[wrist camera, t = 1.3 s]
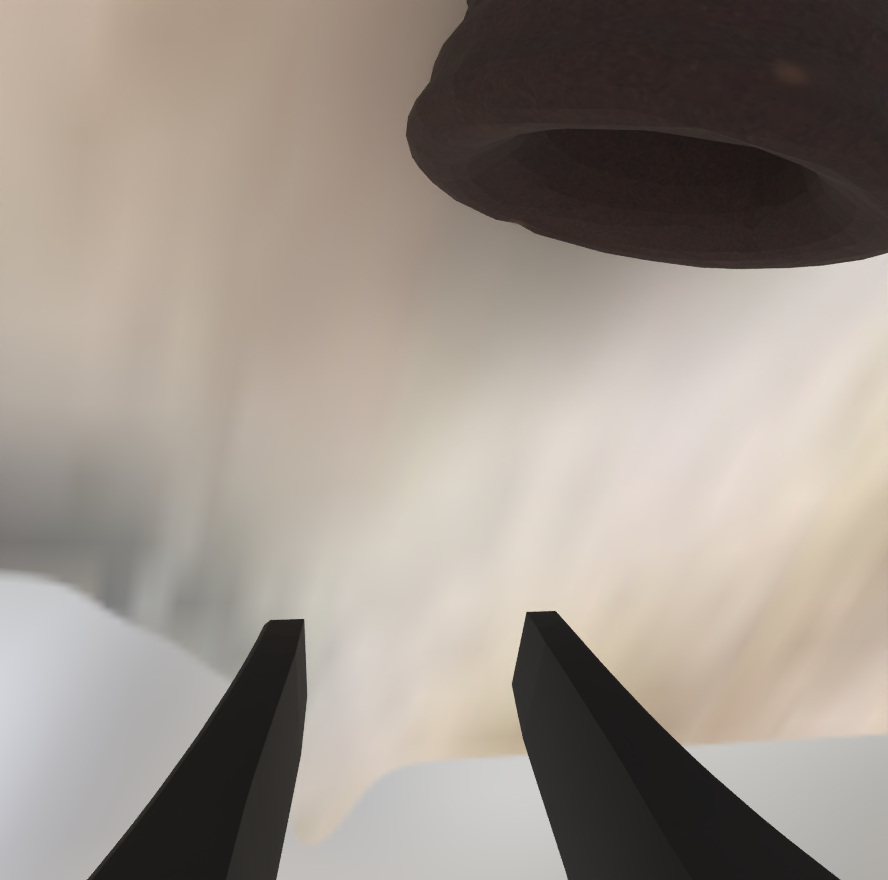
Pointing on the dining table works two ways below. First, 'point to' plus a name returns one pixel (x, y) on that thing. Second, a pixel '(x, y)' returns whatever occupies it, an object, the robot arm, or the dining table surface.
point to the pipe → (669, 126)
